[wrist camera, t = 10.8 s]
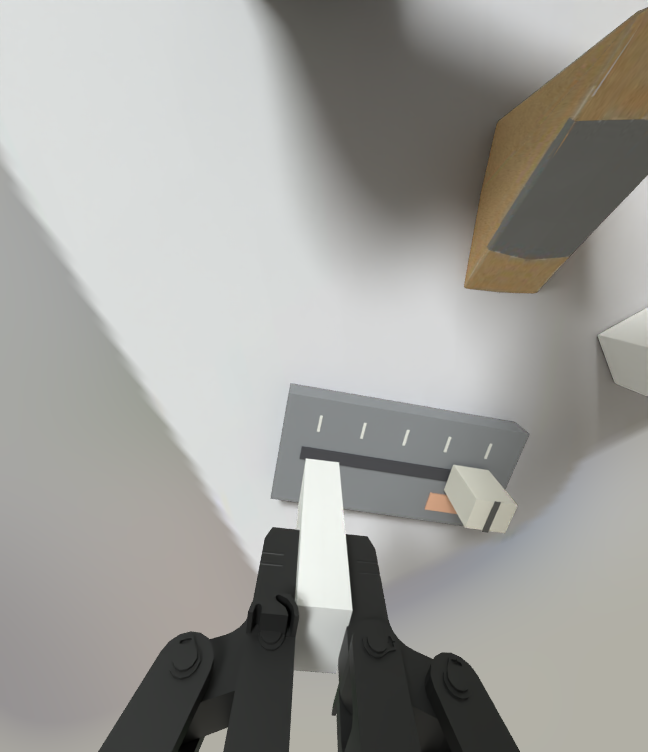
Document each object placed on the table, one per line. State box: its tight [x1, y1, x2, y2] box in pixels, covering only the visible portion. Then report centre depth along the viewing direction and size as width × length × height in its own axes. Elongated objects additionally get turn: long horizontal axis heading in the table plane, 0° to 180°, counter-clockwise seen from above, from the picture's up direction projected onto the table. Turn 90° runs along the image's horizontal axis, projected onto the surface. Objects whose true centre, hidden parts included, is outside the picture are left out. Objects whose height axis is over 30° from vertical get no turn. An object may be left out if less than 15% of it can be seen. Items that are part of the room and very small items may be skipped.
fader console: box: [271, 383, 529, 526], centre depth 41 cm, size 14×28×3 cm, turn 79°
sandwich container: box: [464, 8, 648, 293], centre depth 27 cm, size 9×15×15 cm, turn 176°
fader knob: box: [444, 465, 518, 533], centre depth 37 cm, size 4×4×6 cm
